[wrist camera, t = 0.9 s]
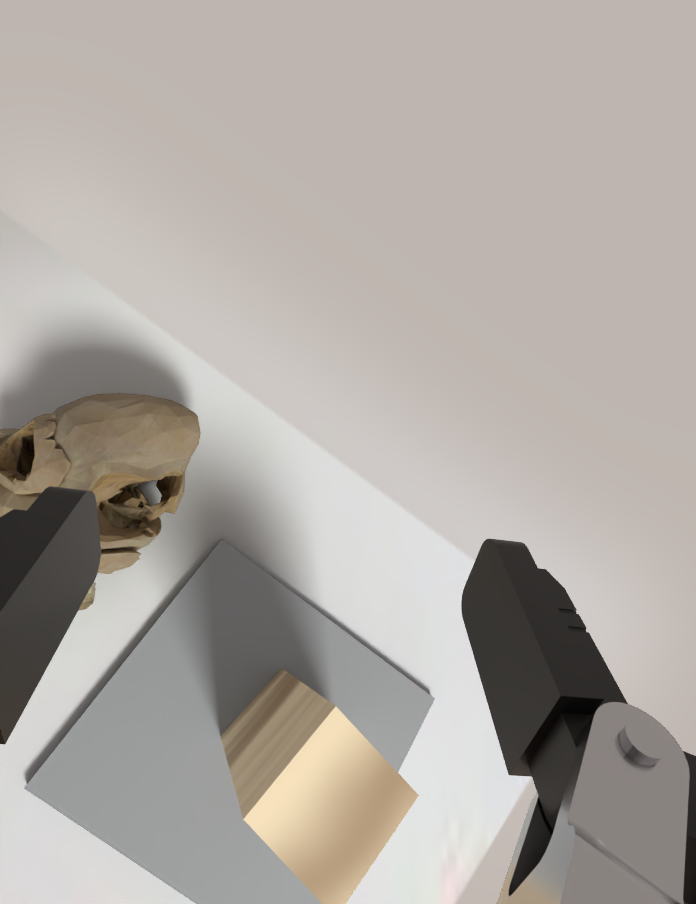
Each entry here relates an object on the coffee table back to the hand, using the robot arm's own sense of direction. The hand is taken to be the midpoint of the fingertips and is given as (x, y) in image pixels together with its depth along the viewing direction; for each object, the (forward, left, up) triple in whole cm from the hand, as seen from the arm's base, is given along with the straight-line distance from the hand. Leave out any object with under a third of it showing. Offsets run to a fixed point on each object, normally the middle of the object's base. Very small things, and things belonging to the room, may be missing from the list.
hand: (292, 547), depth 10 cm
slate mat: (+8, -6, -24) cm, 25 cm away
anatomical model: (-9, 0, -24) cm, 26 cm away
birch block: (+9, -5, -23) cm, 25 cm away
